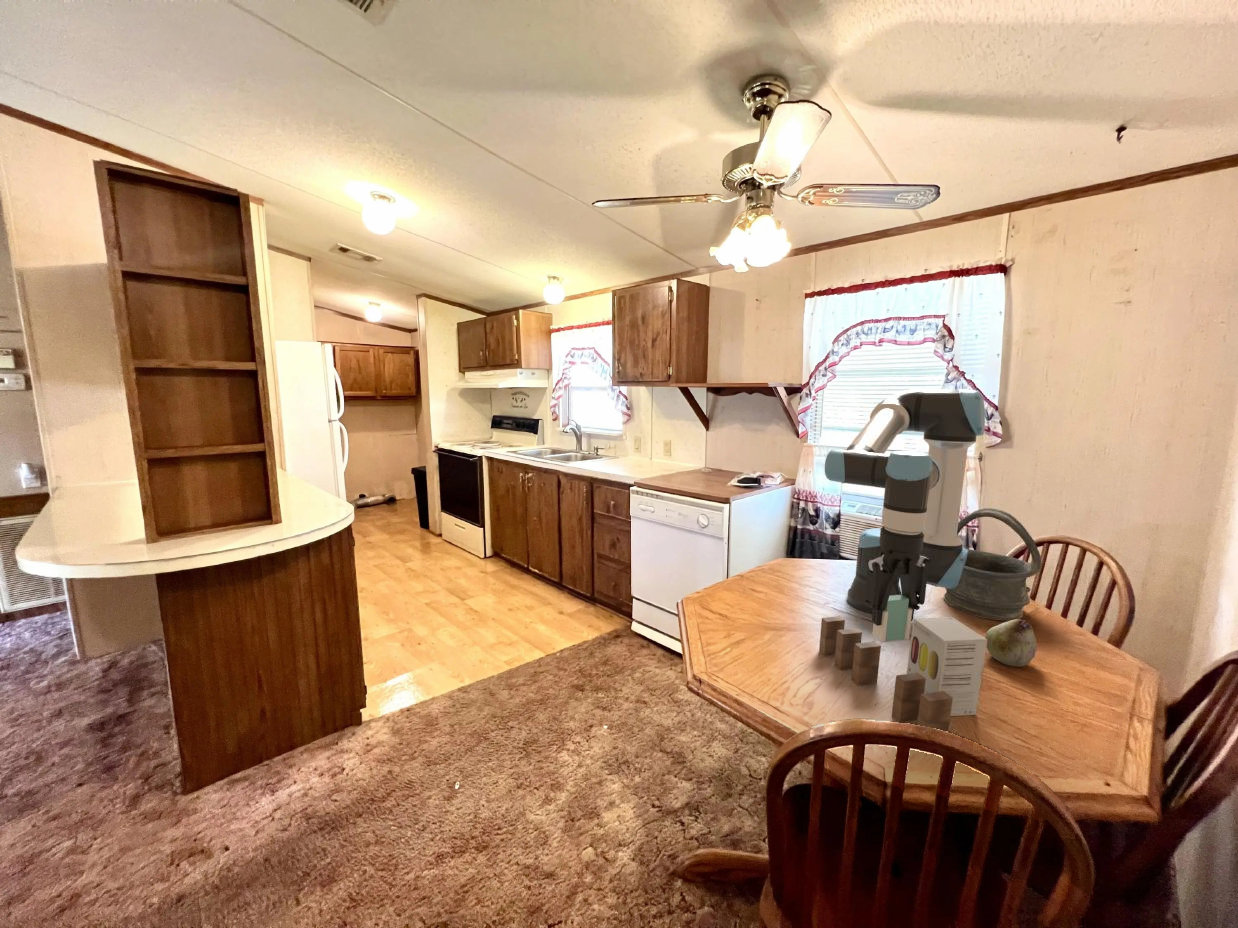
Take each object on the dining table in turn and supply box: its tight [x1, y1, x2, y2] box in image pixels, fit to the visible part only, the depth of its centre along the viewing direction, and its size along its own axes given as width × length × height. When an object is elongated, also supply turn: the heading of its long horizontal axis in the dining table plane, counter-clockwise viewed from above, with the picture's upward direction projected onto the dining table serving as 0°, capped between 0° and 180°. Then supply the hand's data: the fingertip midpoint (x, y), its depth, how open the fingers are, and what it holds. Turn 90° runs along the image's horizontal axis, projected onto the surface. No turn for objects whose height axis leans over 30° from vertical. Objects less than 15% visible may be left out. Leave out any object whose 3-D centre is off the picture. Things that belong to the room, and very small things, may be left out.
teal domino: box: [884, 595, 909, 643], centre depth 98 cm, size 5×2×9 cm, turn 102°
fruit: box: [984, 618, 1038, 668], centre depth 114 cm, size 10×9×12 cm
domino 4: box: [891, 672, 926, 723], centre depth 95 cm, size 5×2×9 cm, turn 102°
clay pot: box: [943, 507, 1043, 622], centre depth 142 cm, size 22×23×30 cm
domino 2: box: [834, 627, 863, 671], centre depth 112 cm, size 5×2×9 cm, turn 102°
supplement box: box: [906, 616, 987, 717], centre depth 99 cm, size 10×9×17 cm
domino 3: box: [851, 640, 882, 687], centre depth 106 cm, size 5×2×9 cm, turn 102°
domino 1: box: [818, 615, 846, 657], centre depth 118 cm, size 5×2×9 cm, turn 102°
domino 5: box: [916, 691, 953, 732], centre depth 89 cm, size 5×2×9 cm, turn 102°
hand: (890, 636), depth 99 cm, fingers closed on teal domino, 5 cm apart
